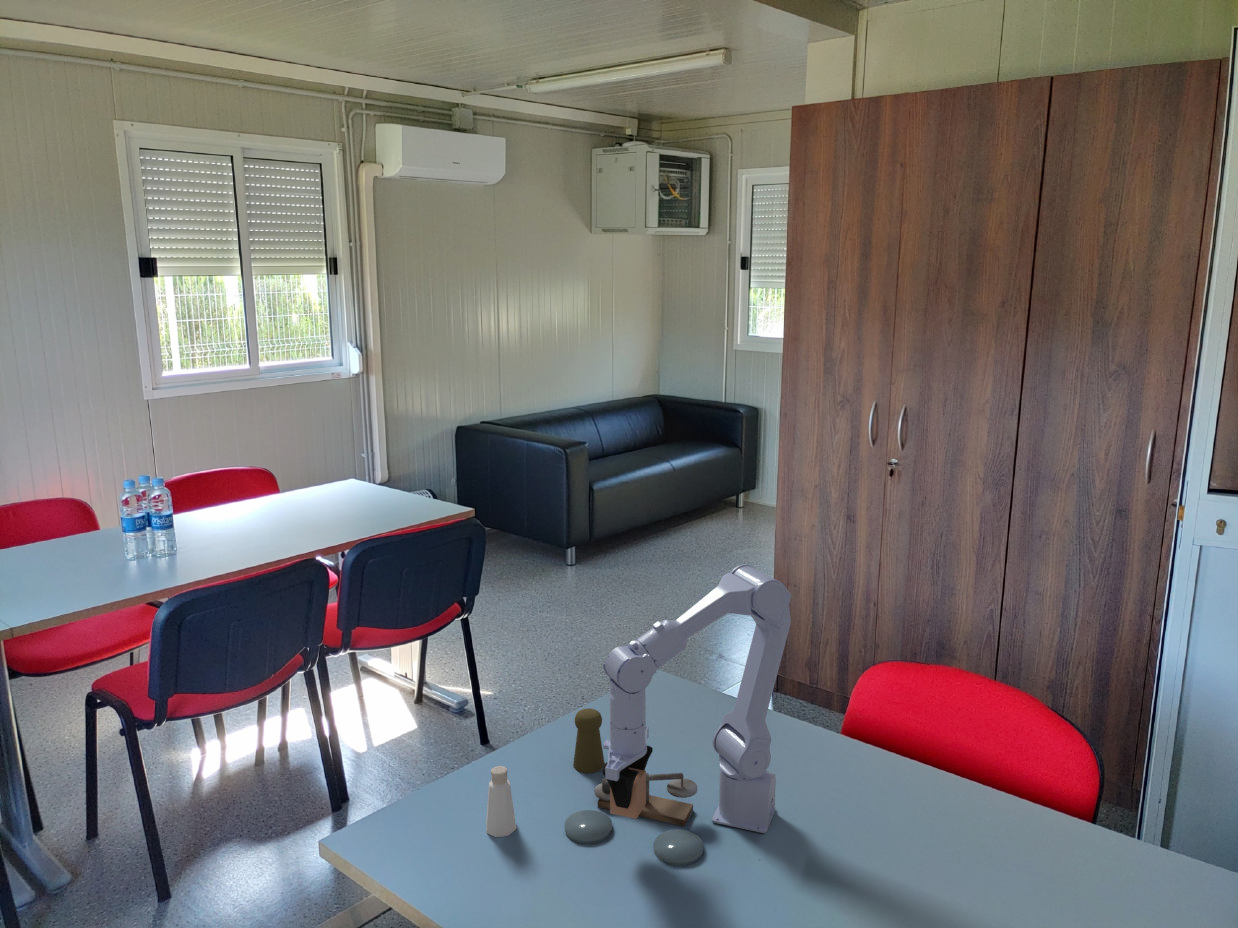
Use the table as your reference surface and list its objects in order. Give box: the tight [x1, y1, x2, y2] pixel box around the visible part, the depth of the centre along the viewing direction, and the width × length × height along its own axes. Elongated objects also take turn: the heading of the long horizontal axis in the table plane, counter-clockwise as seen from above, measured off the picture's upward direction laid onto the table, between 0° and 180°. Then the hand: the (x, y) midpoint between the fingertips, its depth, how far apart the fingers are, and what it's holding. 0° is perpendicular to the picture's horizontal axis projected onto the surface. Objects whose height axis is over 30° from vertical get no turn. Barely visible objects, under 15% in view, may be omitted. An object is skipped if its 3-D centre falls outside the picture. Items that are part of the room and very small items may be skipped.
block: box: [609, 768, 647, 820], centre depth 150 cm, size 4×4×6 cm
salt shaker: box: [485, 765, 517, 838], centre depth 156 cm, size 5×5×11 cm
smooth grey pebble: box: [653, 829, 704, 866], centre depth 151 cm, size 8×8×1 cm
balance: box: [594, 772, 698, 827], centre depth 162 cm, size 19×5×8 cm, turn 69°
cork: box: [572, 707, 606, 774], centre depth 176 cm, size 6×6×11 cm
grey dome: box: [564, 809, 613, 844], centre depth 157 cm, size 8×8×1 cm
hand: (628, 797), depth 150 cm, fingers closed on block, 4 cm apart
